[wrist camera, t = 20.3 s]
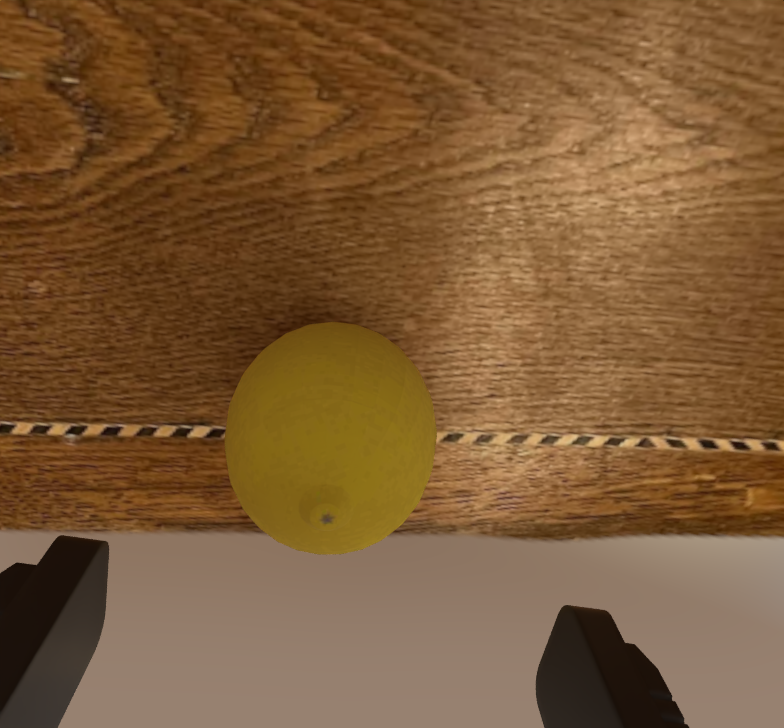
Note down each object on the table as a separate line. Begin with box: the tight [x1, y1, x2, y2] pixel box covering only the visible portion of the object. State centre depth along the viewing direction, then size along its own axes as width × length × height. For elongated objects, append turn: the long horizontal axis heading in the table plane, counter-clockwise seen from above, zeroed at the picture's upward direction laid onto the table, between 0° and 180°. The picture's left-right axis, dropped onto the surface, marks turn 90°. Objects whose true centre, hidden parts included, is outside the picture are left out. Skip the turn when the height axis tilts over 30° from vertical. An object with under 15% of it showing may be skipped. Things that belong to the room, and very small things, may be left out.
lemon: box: [225, 322, 437, 554], centre depth 17 cm, size 6×6×8 cm
